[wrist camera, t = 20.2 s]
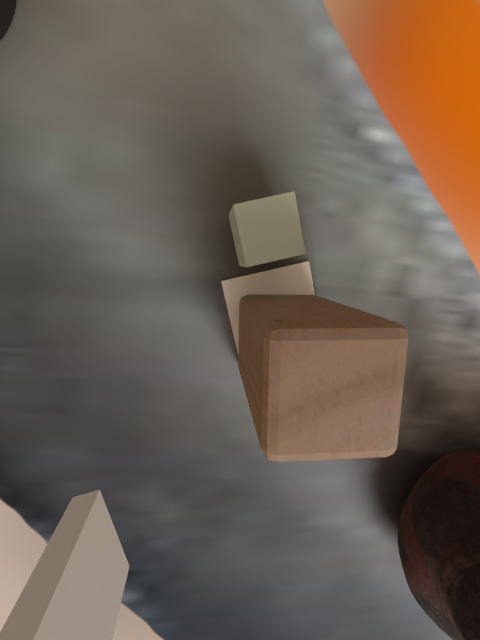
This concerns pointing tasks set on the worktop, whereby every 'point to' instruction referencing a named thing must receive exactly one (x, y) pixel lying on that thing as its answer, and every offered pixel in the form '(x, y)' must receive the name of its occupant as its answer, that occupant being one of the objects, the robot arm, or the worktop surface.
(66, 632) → the robot arm
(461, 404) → the worktop surface
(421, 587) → the jug
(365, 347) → the wooden block
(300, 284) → the letter
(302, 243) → the sage block
